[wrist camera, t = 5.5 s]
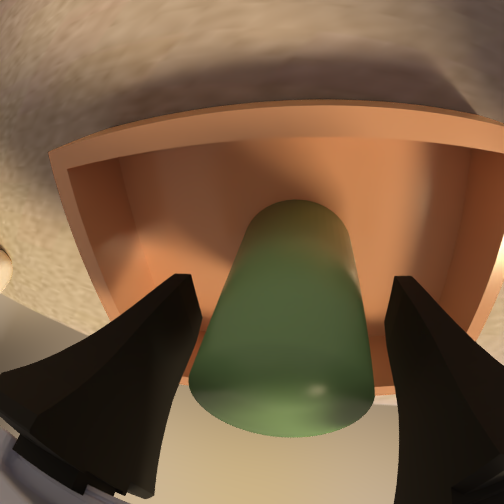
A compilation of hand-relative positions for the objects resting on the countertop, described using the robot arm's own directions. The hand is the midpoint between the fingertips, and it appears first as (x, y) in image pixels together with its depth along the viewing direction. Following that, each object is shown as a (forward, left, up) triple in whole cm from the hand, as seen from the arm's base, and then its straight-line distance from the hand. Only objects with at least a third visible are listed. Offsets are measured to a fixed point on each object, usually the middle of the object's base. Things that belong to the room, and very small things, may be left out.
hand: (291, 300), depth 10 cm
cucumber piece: (0, 0, -3) cm, 3 cm away
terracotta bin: (0, 0, -4) cm, 4 cm away
